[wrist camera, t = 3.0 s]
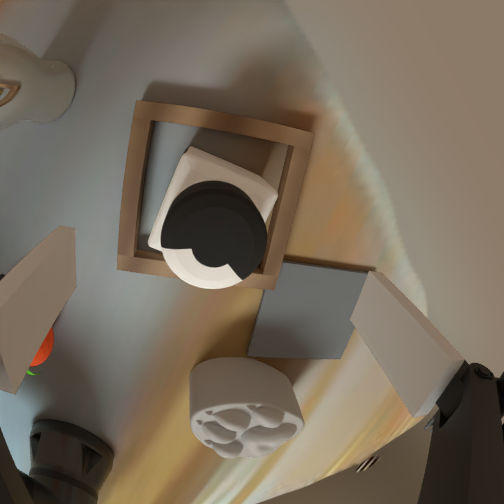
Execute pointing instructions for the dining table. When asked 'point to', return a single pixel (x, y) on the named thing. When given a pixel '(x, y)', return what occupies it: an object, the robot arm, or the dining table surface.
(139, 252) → the pocket
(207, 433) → the lumpy-topped squat cylinder
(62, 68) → the beer glass
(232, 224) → the medicine bottle
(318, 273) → the mat
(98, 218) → the dining table surface
